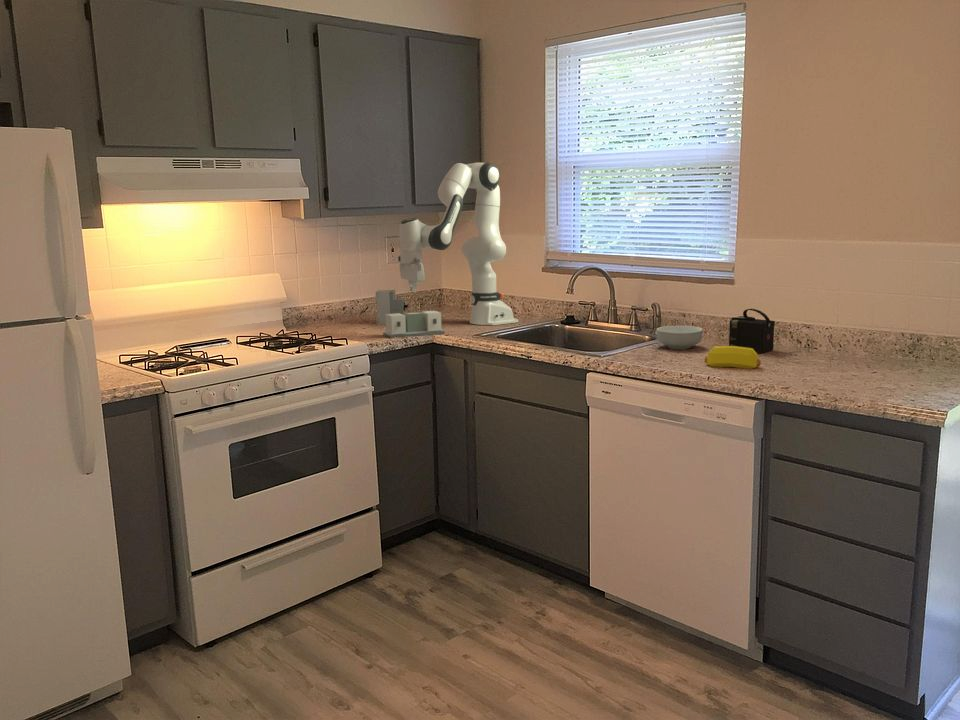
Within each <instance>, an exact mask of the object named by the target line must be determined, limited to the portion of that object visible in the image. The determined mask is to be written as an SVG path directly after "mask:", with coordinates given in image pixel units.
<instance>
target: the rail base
mask: <svg viewBox="0 0 960 720" xmlns="http://www.w3.org/2000/svg"><path fill="white" fill-rule="evenodd" d="M420 313H423V321H424V331H420V332H406V324H405V315H403V314H400V313H395V314H385V318H386V324H385V331H384V332H383V333H382V335H383V336H384V335H385V336H384V337H387V338H389V337H390V338H389V339H395V338H394V337H400V338H405V337H404V336H412V337H421V336H432V335H445V334H446V333H445V332H446V331H444V329H442V328H443V327H442V312H441V311H436V310H428V311H427V310H424V311H421V312H420ZM444 333H445V334H444Z"/></svg>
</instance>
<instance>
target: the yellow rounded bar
mask: <svg viewBox="0 0 960 720" xmlns="http://www.w3.org/2000/svg"><path fill="white" fill-rule="evenodd" d="M703 360H704V362H705V364H707V365H708V366H710V367H711V368H713V367H714V368H715V367H716V368H717V367H718V368H730V367H731V368H736V369H737V368H738V369H746V370H747V369H749V370H750V369H751V370H753V369H755V368H758V367H760V366H761V364H762V362H761V359H760V358H759V357H758V353H756V352H755V351H754V349H753V348H746V347H738V346H729V345H723V346H721V345H720V346H719V345H717V346H715V345H714V346H713V347H712V348H711V350H710V351H709V352H708V353H707V356H704V359H703Z"/></svg>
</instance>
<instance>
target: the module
mask: <svg viewBox="0 0 960 720" xmlns="http://www.w3.org/2000/svg"><path fill="white" fill-rule="evenodd" d="M404 315H405V324H406V332H420V331H424V321H423V313H421V312H420V311H418V312H405V313H404Z"/></svg>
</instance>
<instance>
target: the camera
mask: <svg viewBox="0 0 960 720" xmlns="http://www.w3.org/2000/svg"><path fill="white" fill-rule="evenodd" d="M748 311H753V312H755V313H758V314H759V315H760V316H762V317H763V318H764V319H761V318H760V319H759V318H755V317H753V316H748V314H747V313H748ZM775 326H776V321H775V320H770V318H769V317H768V315H767V314H766V313H764V312H763V311H761V310H759V309H755V308H747V309H745V310H743V312H742V315H739V316H735V317H731V320H729V329H728V330H729V333H728V346H738V347H746V348H753V349H754V351H755V352H756V353H757V354H764V353H768V352H772V351H774V346H775V345H774V341H775V340H774V339H775Z"/></svg>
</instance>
